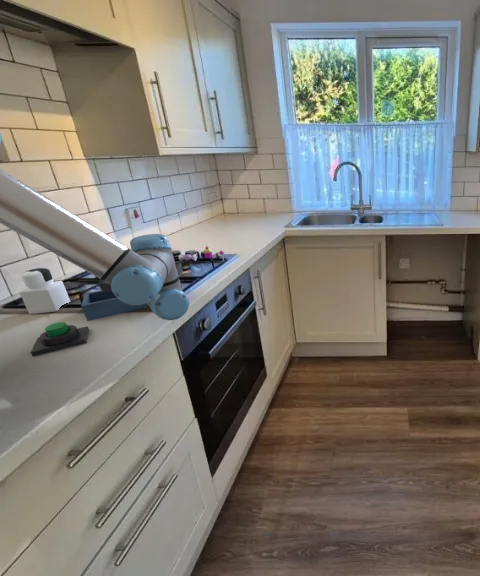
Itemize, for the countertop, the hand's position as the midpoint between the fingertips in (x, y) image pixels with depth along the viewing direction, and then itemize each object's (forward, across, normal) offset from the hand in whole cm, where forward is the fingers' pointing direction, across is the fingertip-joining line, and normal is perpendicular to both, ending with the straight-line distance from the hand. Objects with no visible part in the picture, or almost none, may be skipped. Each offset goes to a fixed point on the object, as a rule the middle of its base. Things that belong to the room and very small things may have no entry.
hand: (137, 269), depth 108 cm
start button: (-14, -21, -7) cm, 26 cm away
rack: (-1, -4, -10) cm, 11 cm away
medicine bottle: (+15, -22, -10) cm, 28 cm away
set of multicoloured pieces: (+29, +29, -10) cm, 42 cm away
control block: (-14, -21, -10) cm, 27 cm away
